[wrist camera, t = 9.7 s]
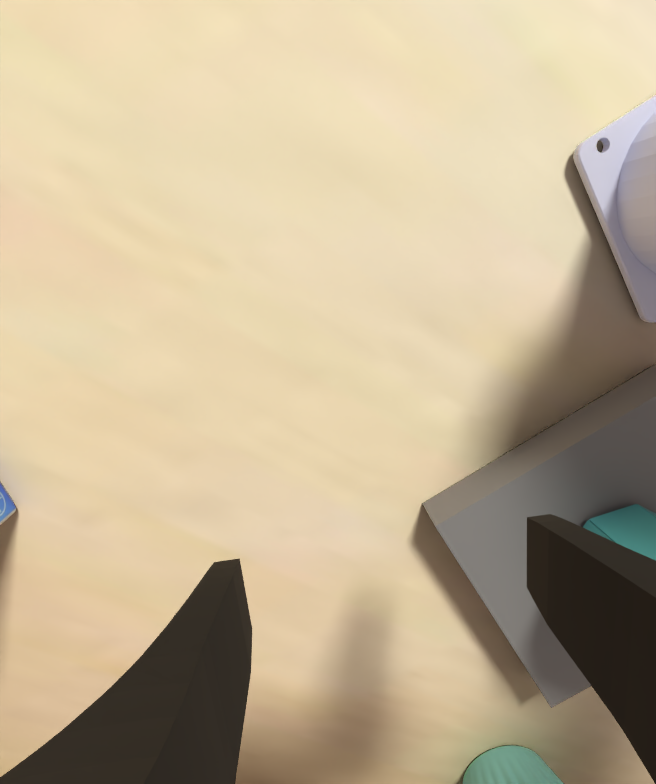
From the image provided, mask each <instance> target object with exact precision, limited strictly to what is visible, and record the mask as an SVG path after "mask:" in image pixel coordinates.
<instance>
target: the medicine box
mask: <svg viewBox="0 0 656 784" xmlns="http://www.w3.org/2000/svg"><path fill="white" fill-rule="evenodd" d="M15 511H16V507H15V505H14V502H13V500H12V498H11V497H10V495H9V494H8V492H7V491H6V489H5V488H4V486H3V485H2V483H1V482H0V525H1V524H2V523H3V522H5V521H6V520H7V519H8V518H9V517H10V516H11V515H12V514H13V513H14V512H15Z"/></svg>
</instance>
